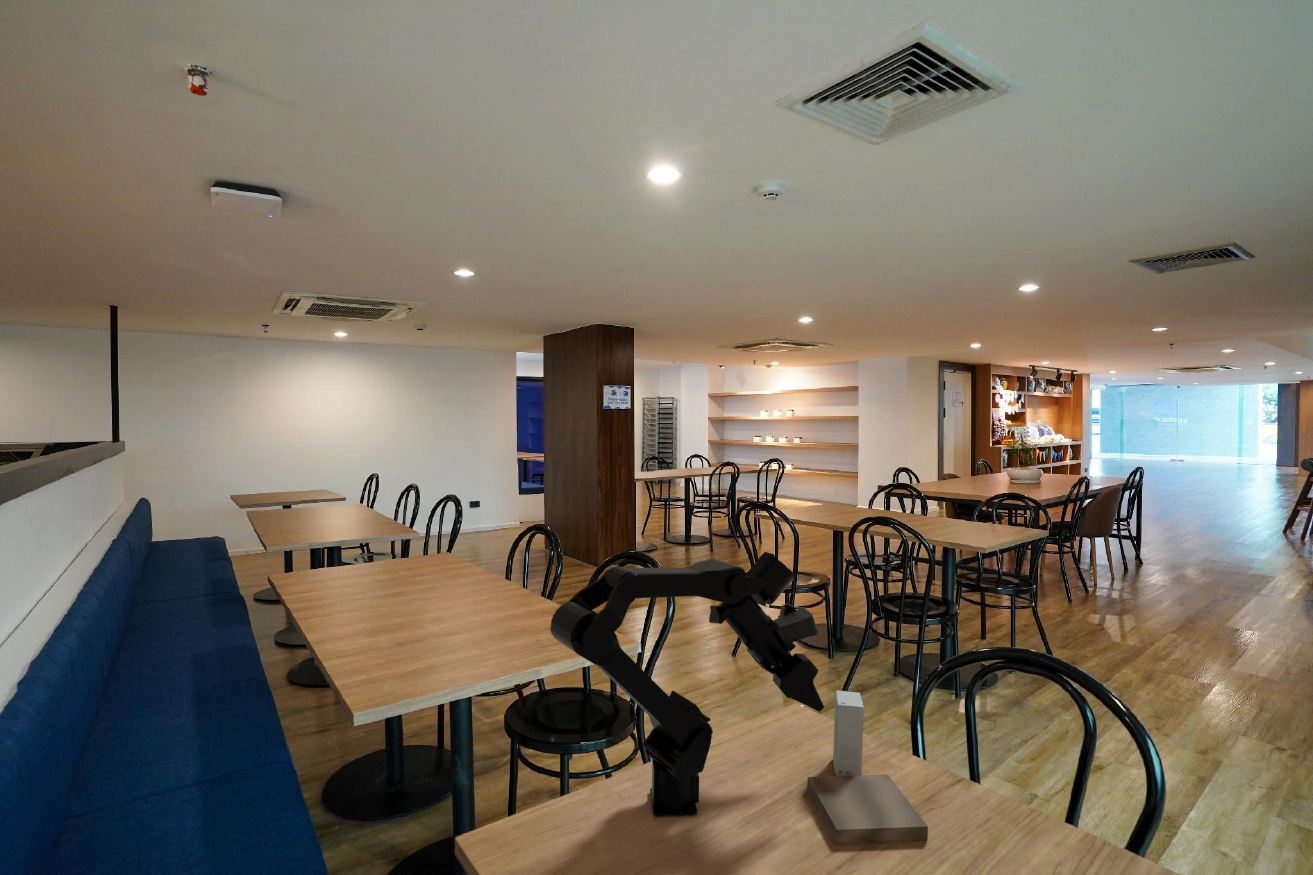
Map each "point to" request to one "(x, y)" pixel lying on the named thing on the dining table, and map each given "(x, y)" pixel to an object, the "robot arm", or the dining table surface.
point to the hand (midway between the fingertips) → (810, 697)
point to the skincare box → (848, 734)
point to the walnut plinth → (866, 809)
